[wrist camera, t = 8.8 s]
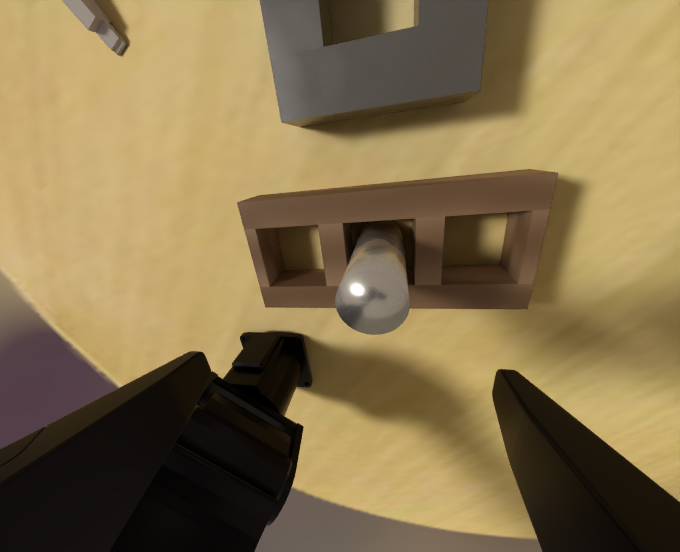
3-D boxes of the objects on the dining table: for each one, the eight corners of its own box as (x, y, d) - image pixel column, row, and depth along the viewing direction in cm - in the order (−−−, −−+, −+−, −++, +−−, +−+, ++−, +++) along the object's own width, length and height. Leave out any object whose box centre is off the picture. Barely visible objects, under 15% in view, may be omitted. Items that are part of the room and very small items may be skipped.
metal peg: (403, 260, 19) (409, 335, 11) (361, 261, 20) (339, 333, 12) (403, 217, 18) (409, 270, 10) (357, 220, 19) (331, 271, 11)
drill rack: (508, 286, 19) (527, 309, 16) (280, 289, 23) (265, 307, 20) (530, 169, 15) (558, 173, 13) (258, 195, 19) (237, 202, 17)
